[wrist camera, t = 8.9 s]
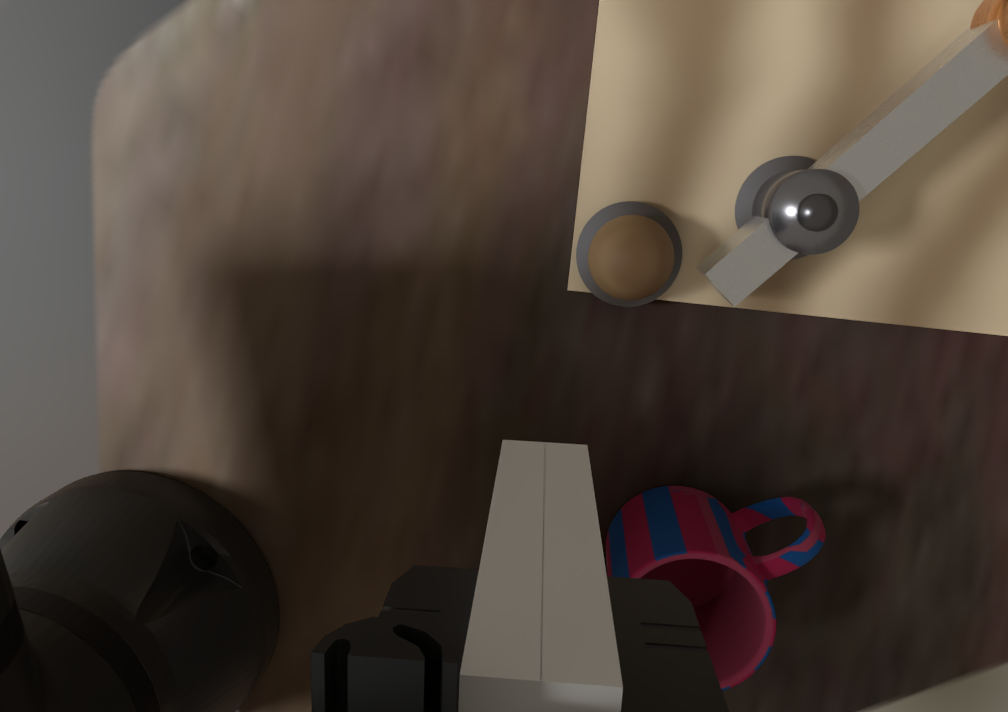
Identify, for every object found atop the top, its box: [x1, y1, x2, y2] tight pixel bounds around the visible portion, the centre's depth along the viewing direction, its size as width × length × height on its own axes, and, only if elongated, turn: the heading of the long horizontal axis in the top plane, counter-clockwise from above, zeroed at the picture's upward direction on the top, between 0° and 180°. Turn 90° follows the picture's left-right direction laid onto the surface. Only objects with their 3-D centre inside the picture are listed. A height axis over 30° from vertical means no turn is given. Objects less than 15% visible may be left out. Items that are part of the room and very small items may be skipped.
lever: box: [696, 0, 1008, 307], centre depth 29 cm, size 3×16×4 cm, turn 134°
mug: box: [606, 486, 826, 691], centre depth 34 cm, size 7×10×7 cm
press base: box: [567, 0, 1008, 336], centre depth 30 cm, size 20×16×5 cm
